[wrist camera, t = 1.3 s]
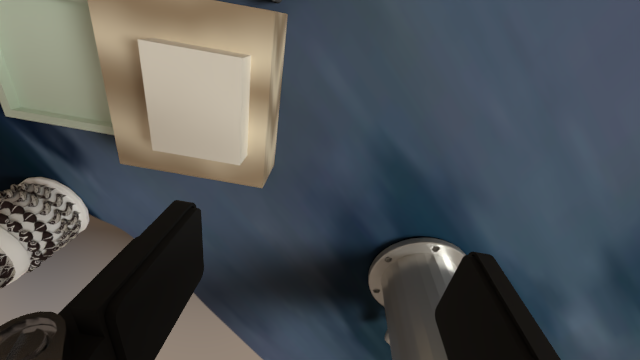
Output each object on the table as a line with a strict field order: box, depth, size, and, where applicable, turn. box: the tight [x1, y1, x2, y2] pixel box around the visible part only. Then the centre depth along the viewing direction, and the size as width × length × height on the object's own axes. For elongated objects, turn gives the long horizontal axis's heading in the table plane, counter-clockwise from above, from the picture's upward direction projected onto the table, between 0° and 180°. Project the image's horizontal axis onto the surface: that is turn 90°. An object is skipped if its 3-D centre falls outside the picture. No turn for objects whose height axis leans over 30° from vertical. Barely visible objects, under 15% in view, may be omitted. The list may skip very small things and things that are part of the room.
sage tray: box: [0, 0, 114, 135], centre depth 26 cm, size 12×13×2 cm
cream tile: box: [137, 38, 251, 165], centre depth 22 cm, size 8×7×2 cm
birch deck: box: [87, 0, 288, 188], centre depth 25 cm, size 14×13×5 cm
